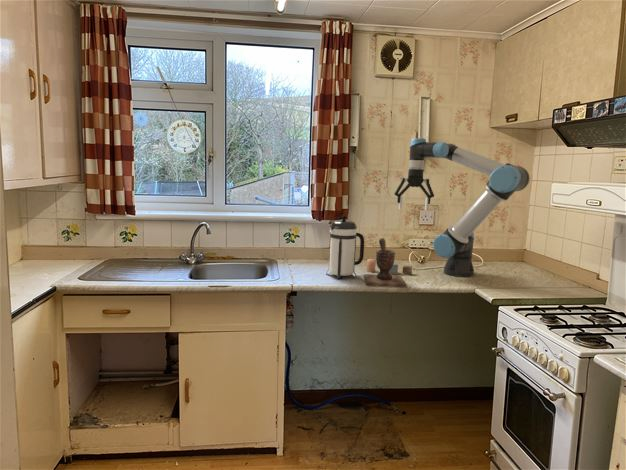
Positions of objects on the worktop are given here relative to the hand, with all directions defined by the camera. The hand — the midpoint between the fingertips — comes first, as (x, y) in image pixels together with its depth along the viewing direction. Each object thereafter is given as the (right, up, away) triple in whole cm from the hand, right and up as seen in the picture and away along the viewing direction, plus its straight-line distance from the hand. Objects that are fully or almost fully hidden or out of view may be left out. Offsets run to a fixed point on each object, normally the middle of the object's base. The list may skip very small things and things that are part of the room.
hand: (413, 210), depth 237 cm
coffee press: (-38, -33, -14) cm, 52 cm away
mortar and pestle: (-19, -34, -24) cm, 45 cm away
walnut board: (-19, -35, -23) cm, 46 cm away
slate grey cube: (-12, -33, -5) cm, 35 cm away
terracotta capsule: (-22, -32, -3) cm, 39 cm away
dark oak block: (-4, -33, -6) cm, 34 cm away
